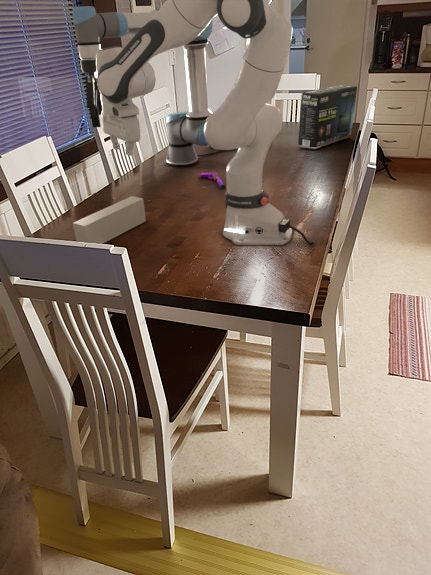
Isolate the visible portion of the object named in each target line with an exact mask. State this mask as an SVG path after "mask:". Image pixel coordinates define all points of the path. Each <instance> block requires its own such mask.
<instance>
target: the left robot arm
mask: <svg viewBox="0 0 431 575" xmlns="http://www.w3.org/2000/svg"><path fill="white" fill-rule="evenodd" d="M158 10H159V9H152V10H151V11H149V12H117V11H113V12H112V11H111V12H96V8H95V7H94V6H91V5H88V6H85V5H84V6H74V7H73V8H72V23H73V25H74V26H73V27H74V32H75V37H76V43H77V48H76V52H78V55H79V58H80V59H81V60H80V68H81V71H82V73H87V76H85V77H84V78H85V88H86V90H85V91H86V109H89V114H90V119H91V126H92V128H101V126H102V124H101V120H100V118H101V117H100V113H101V112H102V110H103V109H102V102H101V93H100V91H99V88H98V85H97V68H96V55H97V52H98V51H99V50H101V49H102V48H101V42H100V40H101V39H109V38H110V39H111V38H118V39H119V38H121V37H125V36H126V37H127V36H135V35H136V34H137V33H138V32H139V31H140V29H141V28H143V27H144V25H145V24H146V23H147V22H148V21H149V20H150V19H151V18H152V17H153V16H154V15H155V14H156V13H157V11H158ZM213 30H214V22H213V19H212V20H211V22H210V23H209V24H208V25H207V26H206V28H205V29H204V30H203V31H202V32H201V33H200V34H199V35H198V36H197V37H196V38H195V39H194V40H192V41H191V42H190V43H188V44H186V45H184V46H180V47H181V48H182V49H183V55H184V56H183V58H184V69H185V78H186V79H185V80H186V89H187V90H186V91H187V100H188V102H187V103H188V110H187V111H178V112H173V113H169V114H168V115H167V116H166V132H167V142H168V149H167V152H165V155H166V158H165V162H166V165H167V166H170V167H176V168H182V167H190V166H193V165H194V166H195V165H196V164H197V163H199V161H198V158H199V157H205V156H210V155H213V154H217V153H219V152H222V150H216V151H213V152H209V153H202V154H197V152H196V150H195V146H194V145H198V146H201V147H202V146H203V147H207V146H209V144H208V143H207V141H206V139H205V136H204V125H205V121H206V119H207V118H208V117H209V116H210V115H211V114H212V113H213V112H212V110H211V109H210V108H209V95H208V94H209V92H208V80H207V63H206V47H207V45H208V44H209V38H210V37H211V35H212V33H213ZM98 99H99V101H98ZM97 102H98V104H97ZM98 105H99V107H98ZM99 111H100V113H99Z"/></svg>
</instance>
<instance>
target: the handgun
mask: <svg viewBox="0 0 431 575" xmlns="http://www.w3.org/2000/svg"><path fill="white" fill-rule="evenodd" d="M199 178H200V179H202V178H208V179H209V180H213V181H214V182H215V183H217V184H218V186H219V188H220V189H221V190H225V189H226V186H225V183H224V182H223V180H222V179H221V178H220V177H219V175H218V172H216V171H211V172H201V173H200V172H199Z"/></svg>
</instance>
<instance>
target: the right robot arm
mask: <svg viewBox="0 0 431 575" xmlns="http://www.w3.org/2000/svg"><path fill="white" fill-rule="evenodd" d="M272 3H273V0H165V1H164V3H163V4H162V5H161V6H160V8H158V9H157V10H158V11H157V13H156V14H155V15H154V16H153V17H152V18H151V19H150V20H149V21H148V22H147V23H146V24H145V25H144V27H143V28H141V29H140V31H139V32H138V33H137V34H136V35H133V37H132V38H131V39H130V41H129V42H128V43H127V44H126V45H125V46H124V48H123V47H121V46H119V45H118V46H117V45H116V46H109V47H104V48H101V50H99V51H98V52H97V55H96V68H97V85H98V88H99V91H100V93H101V102H102V109H103V110H102V112H100V118H101V126H102V131H103V133H104V134H105V135H109V139H110V141H111V143H112V148H113V150H116V151H117V150H118V151H119V150H121V146H120V143H119V140H121V141H124V142H125V145H126V148H125V154H126V155H127V156H133V155H134V145H135V143H139V142H140V140H141V126H140V120H139V117H138V115H140V109H139V107H138V106H137V105H136V104H135V103H134V101H133V100H132V99H135V98H139V97H143V96H145V95H148V94H150V93H151V92H153V91H154V88H155V86H156V82H157V79H156V72H155V71H154V68H153V66H152V65H151V64H150V63H149V61H151V59H153V58H154V57H155V56H157V55H159V54H162V53H164V52H167V51H170V50H173V49H176V48H180V47H181V46H184V45H186V44H188V43H190V42H191V41H192V40H194V39H195V38H196V37H197V36H198V35H199V34H200V33H201V32H202V31H203V30H204V29H205V28H206V26H207V25H208V24H209V23H210V22H211V20H212V21H213V20H214V18H215V17H216V16H218V18H219V21H220V23H222V25H223V26H224V27H225V28H226V29H228V30H229V31H232V32H233V33H236V34H237V35H238V36H239V37H241V38H242V39H246V44H245V48H244V52H243V55H242V59H241V63H240V66H239V69H238V73H237V76H236V79H235V82H234V84H233V85H232V88H231V90H230V92H229V93H228V95H227V96H226V97H225V99H224V100H223V102H222V103H221V104H220V106H219V107H218V108H217V109H216V110H214V111H213V112H212V114H211V115H210V116H209V117H208V118H207V119H206V121H205V125H204V136H205V139H206V141H207V143H208V144H209V145H210V146H211V147H212V148H211V149H213V150H216V151H218V150H221V151H232V150H236V149H237V151H236V153H235V154H234V156H233V157H232V159H231V160H229V162H228V163H227V164H226V169H225V177H226V178H225V179H226V180H225V181H226V182H225V183H226V190H225V194H224V205H225V209H226V210H225V218H224V219H225V220H224V226H223V229H222V235H223V237H225V239H228V240H230V241H232V243H233V244H234V245H236V246H283V245H286V244H288V243H289V242H290V240H291V239H292V237H293V231H295V232H297V233H298V234H300V235H301V237H302V238H303V240H304V242H305V243H306V244H308V245H314V244H315V243H314V241H310V240H308V238H307V237H306V235H305V234H304V233H303V232H302V231H301V230H300V229H298V228H296V227H294V226H292V225H291V219H290V218H285V215H284V213H283V212H282V211H280V210H279V209H278V208H277V207H276V206H275V205H272V204H271V203H270V202H269V194H270V192H269V191H267V192H266V191H265V190H263V178H264V177H263V176H264V166H265V162H266V158H267V156H268V152H269V150H270V148H271V146H272V144H273V142H274V140H275V139H276V138H277V137H278V136H279V135H280V133H281V132H282V130H283V125H284V124H283V123H284V121H283V120H284V119H283V115H282V113H281V111H280V109H279V108H278V107H277V106H276V105H274V104H269V102H270V101H271V100H273V98H274V97H275V95H276V93H277V91H278V87H279V84H280V82H281V80H282V76H283V73H284V70H285V67H286V64H287V60H288V57H289V52H290V49H291V44H292V37H293V26H292V23H291V21H290V20H289V19H288V18H287V17H286V16H285V15H283V14H282V13H280V12H276V10H274V8H273V7H272Z"/></svg>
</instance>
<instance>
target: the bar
mask: <svg viewBox="0 0 431 575" xmlns="http://www.w3.org/2000/svg"><path fill="white" fill-rule="evenodd" d="M145 209H146V208H145V202H144V197H143V198H141V197H138V196H135V195H133V196H132V195H131V196H129V197H127V198H125V199H123V200H120V201H118V202H115V203H114V204H111V205H109V206H107V207H104V208H103V209H100V210H97V211H96V212H94V213H91V214H88V215H86V216H85V217H82V218H80V219H79V220H76V221H74V222H72V226H73V232H74V237H75V241H76V242H77V241H79V242H89V243H99V244H101V245H103V244H105V243H107V242H109V241H111V240H113V239H115V238H116V237H119V236H120V235H122V234H124V233H126V232H128V231H129V230H132V229H133V228H135V227H138V226H139V225H141V224H143V223H145V222H146V221H147V220H146V210H145Z"/></svg>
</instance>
